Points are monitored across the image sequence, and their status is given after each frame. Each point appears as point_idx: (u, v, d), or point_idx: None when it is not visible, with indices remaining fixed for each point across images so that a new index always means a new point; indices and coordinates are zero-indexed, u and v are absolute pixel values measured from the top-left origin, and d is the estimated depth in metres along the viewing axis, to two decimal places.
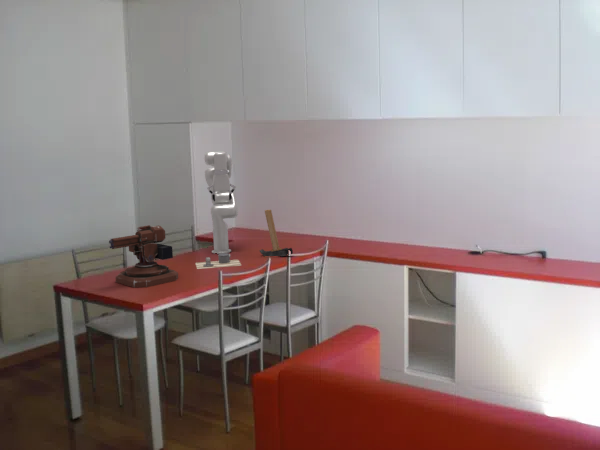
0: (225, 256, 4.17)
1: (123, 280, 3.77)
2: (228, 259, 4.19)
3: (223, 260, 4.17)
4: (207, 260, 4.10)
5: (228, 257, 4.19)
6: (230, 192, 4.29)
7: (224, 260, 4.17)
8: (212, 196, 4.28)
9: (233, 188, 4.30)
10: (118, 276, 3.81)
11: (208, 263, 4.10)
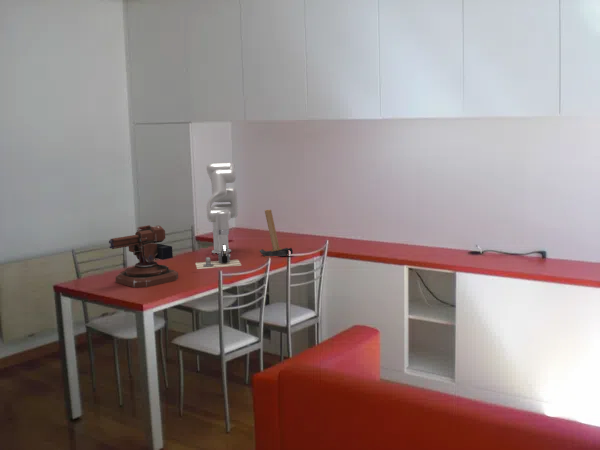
0: None
1: (122, 280, 3.77)
2: (228, 259, 4.19)
3: None
4: (207, 260, 4.10)
5: (228, 257, 4.19)
6: None
7: None
8: (226, 257, 4.16)
9: None
10: (118, 276, 3.81)
11: (208, 263, 4.10)
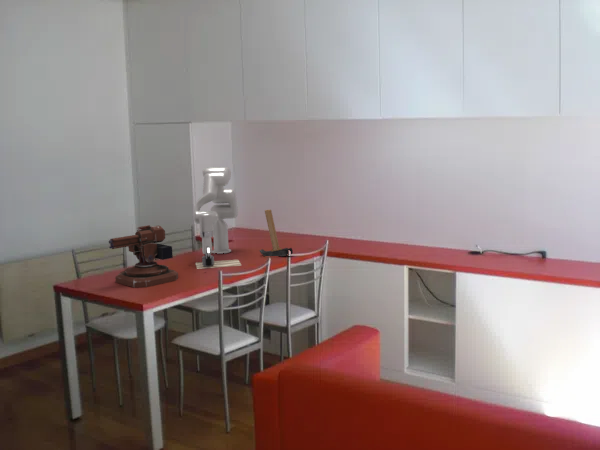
0: (213, 257, 4.11)
1: (122, 280, 3.77)
2: None
3: (213, 261, 4.10)
4: None
5: None
6: None
7: (213, 261, 4.11)
8: (210, 260, 4.07)
9: None
10: (118, 276, 3.81)
11: None
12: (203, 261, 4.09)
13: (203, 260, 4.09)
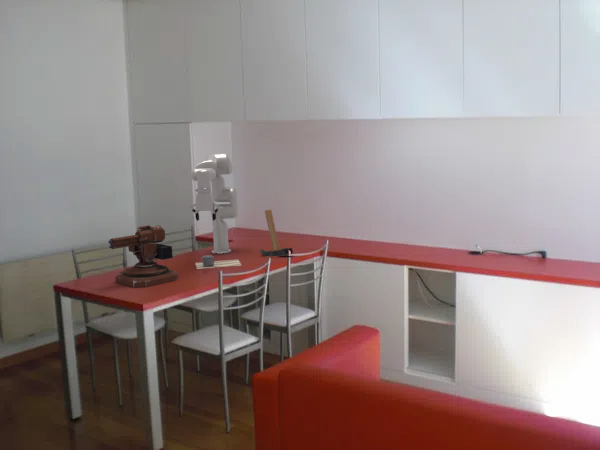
0: None
1: (122, 280, 3.77)
2: None
3: None
4: None
5: None
6: None
7: None
8: (215, 215, 4.07)
9: (193, 208, 4.08)
10: (118, 276, 3.81)
11: None
12: (209, 261, 4.09)
13: (209, 260, 4.09)
